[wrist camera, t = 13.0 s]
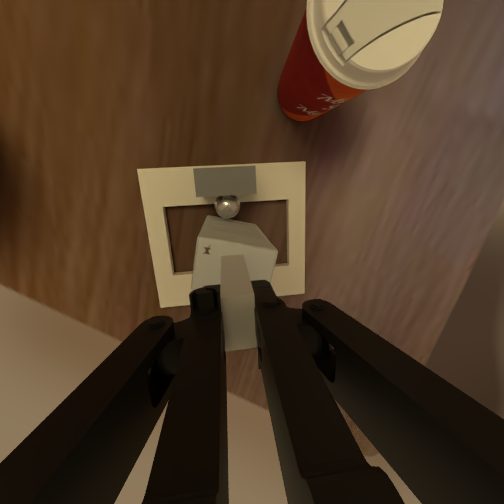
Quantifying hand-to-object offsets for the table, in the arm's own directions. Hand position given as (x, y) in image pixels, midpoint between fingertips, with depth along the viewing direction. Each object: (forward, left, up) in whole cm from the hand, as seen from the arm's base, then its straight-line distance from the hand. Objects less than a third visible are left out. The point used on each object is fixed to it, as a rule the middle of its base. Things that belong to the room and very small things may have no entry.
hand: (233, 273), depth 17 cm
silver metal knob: (-5, 0, -11) cm, 12 cm away
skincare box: (0, 0, -13) cm, 13 cm away
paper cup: (-15, +9, -13) cm, 22 cm away
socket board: (0, 0, -13) cm, 13 cm away
